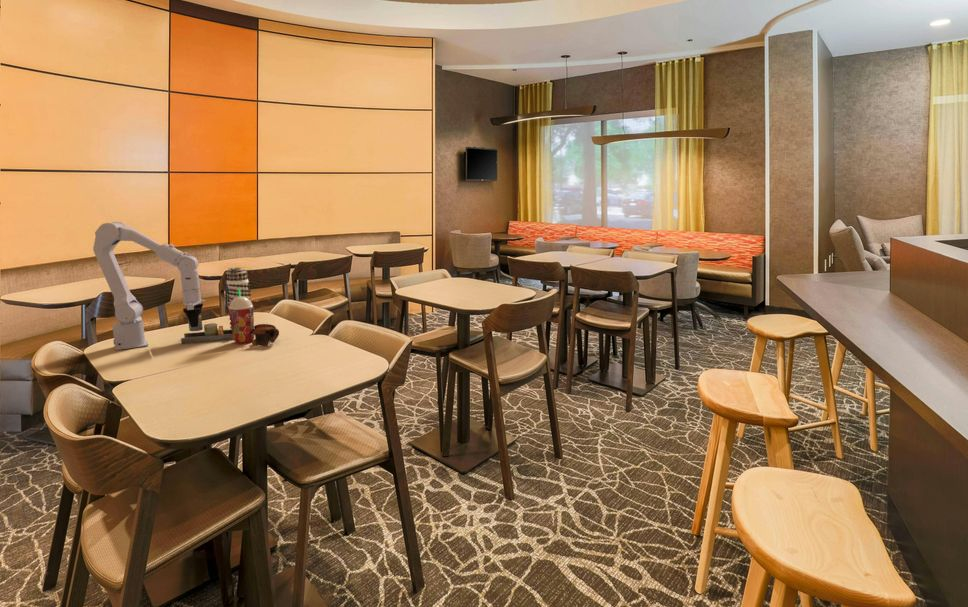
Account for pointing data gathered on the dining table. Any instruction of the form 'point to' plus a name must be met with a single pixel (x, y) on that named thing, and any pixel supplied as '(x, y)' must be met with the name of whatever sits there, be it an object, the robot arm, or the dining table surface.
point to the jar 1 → (198, 325)
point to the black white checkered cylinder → (237, 284)
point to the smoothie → (242, 319)
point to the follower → (220, 330)
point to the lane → (206, 337)
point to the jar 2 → (211, 329)
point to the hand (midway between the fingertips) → (195, 325)
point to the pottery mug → (264, 334)
